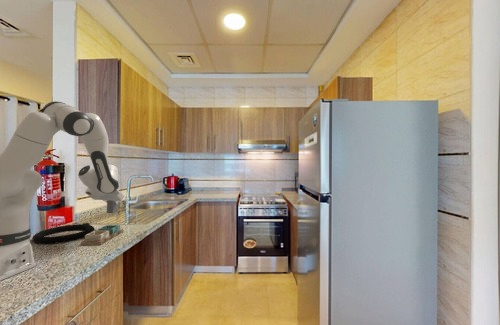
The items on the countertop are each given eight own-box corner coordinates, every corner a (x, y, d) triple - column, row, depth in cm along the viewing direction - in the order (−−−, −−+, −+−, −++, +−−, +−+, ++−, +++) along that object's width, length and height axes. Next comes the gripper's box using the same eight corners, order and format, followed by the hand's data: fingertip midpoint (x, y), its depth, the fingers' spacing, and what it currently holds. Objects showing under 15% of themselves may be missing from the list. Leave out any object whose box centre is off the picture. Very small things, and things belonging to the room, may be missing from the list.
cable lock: (16, 237, 121) (67, 221, 150) (16, 244, 121) (67, 227, 151) (66, 238, 118) (108, 222, 148) (66, 246, 118) (108, 228, 148)
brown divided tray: (100, 245, 118) (100, 236, 118) (80, 245, 118) (80, 236, 118) (123, 231, 140) (123, 224, 140) (106, 232, 140) (106, 224, 140)
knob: (112, 213, 143) (112, 196, 143) (106, 212, 144) (107, 196, 144) (117, 211, 147) (117, 195, 147) (111, 211, 148) (112, 195, 148)
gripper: (119, 185, 137) (130, 199, 147) (89, 184, 141) (102, 197, 150) (113, 193, 133) (125, 207, 142) (82, 192, 136) (96, 206, 146)
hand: (113, 202), depth 146 cm, fingers closed on knob, 4 cm apart
